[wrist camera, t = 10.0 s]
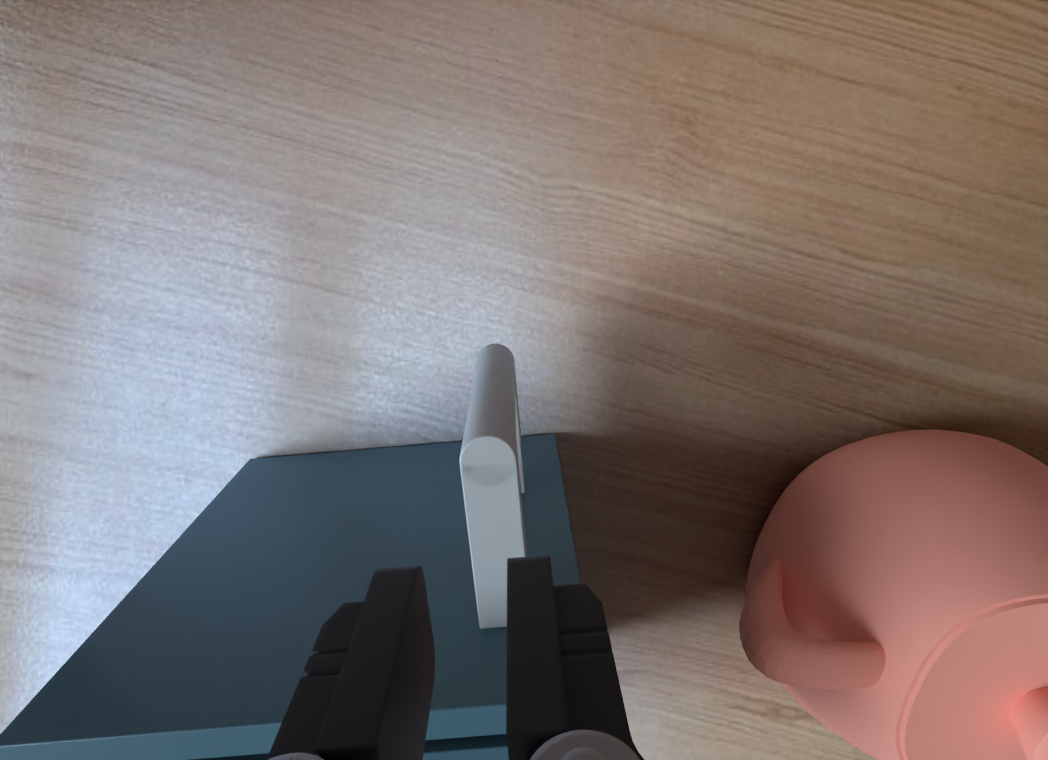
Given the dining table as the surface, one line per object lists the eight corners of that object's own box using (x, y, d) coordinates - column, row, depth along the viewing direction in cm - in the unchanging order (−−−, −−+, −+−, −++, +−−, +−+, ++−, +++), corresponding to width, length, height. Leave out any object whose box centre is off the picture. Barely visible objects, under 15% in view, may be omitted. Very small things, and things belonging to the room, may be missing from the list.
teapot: (1168, 451, 35) (1552, 613, 22) (1042, 696, 40) (1294, 944, 27) (723, 381, 33) (860, 513, 20) (650, 647, 38) (722, 888, 25)
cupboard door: (222, 342, 32) (-105, 535, 15) (546, 314, 32) (589, 477, 15) (253, 475, 34) (0, 775, 17) (556, 450, 34) (603, 726, 17)
